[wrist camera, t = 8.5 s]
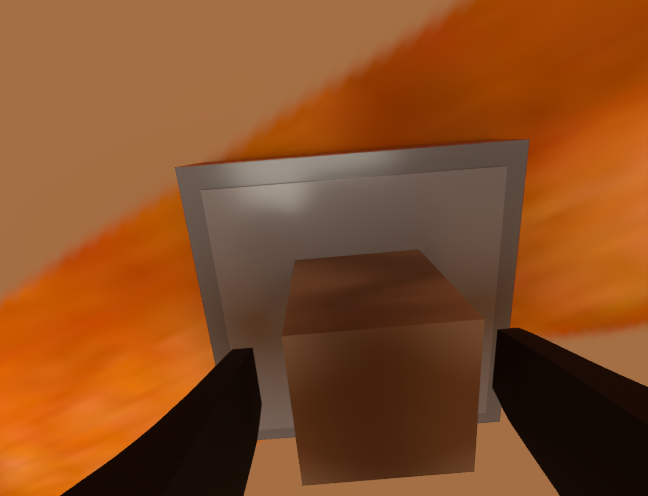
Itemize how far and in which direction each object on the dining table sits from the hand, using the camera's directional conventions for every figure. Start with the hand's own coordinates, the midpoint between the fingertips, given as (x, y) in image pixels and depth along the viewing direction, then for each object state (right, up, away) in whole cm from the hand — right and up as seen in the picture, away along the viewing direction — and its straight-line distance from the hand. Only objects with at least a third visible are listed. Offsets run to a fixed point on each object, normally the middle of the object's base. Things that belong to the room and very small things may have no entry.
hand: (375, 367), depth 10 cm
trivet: (0, +2, +6) cm, 6 cm away
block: (0, +1, +3) cm, 3 cm away
